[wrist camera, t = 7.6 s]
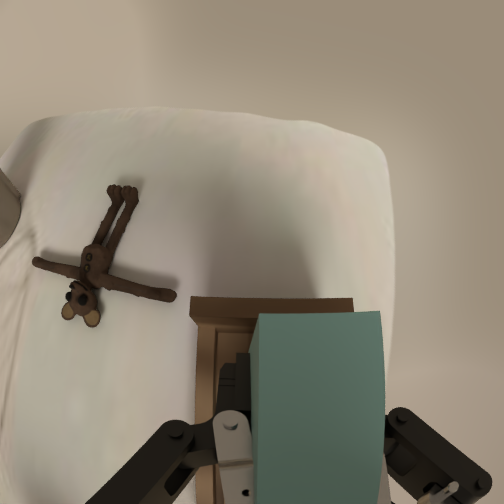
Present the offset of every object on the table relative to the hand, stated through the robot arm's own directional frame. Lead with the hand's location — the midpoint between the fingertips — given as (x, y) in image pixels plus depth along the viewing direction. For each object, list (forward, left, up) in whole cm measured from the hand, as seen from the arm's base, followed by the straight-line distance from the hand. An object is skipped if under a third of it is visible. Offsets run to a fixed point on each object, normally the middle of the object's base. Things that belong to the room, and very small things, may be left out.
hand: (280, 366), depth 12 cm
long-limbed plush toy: (-12, -14, -10) cm, 21 cm away
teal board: (+2, 0, -7) cm, 8 cm away
